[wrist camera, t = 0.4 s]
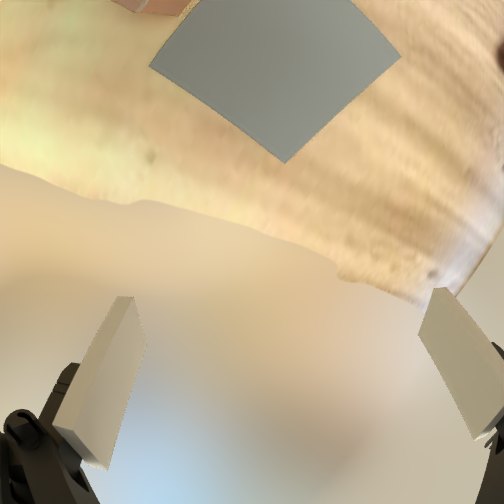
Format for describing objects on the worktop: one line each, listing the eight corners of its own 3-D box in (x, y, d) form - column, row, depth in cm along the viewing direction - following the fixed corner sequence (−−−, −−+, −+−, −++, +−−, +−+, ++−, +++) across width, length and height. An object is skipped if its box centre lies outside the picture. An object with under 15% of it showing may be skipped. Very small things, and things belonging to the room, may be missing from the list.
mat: (268, -63, 18) (269, -64, 18) (399, 56, 27) (401, 56, 27) (150, 65, 28) (148, 66, 28) (284, 161, 37) (284, 163, 37)
